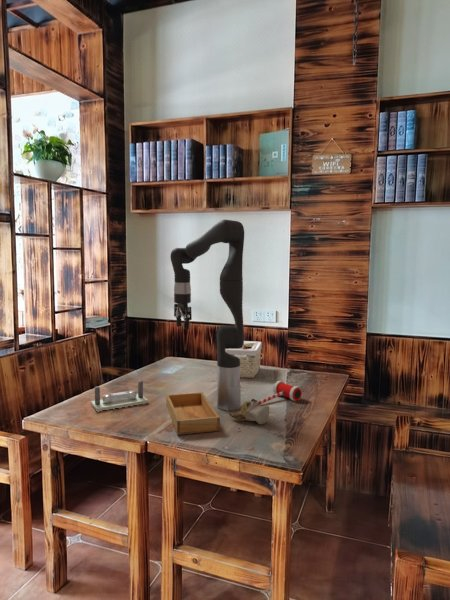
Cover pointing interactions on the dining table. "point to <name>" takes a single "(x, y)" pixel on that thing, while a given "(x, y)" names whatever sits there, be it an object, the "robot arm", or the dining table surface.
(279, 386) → the toy hammer
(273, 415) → the dining table surface
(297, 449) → the dining table surface
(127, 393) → the grey dumbbell
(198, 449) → the dining table surface
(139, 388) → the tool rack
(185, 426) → the tray
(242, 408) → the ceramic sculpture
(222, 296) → the robot arm
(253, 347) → the storage basket
